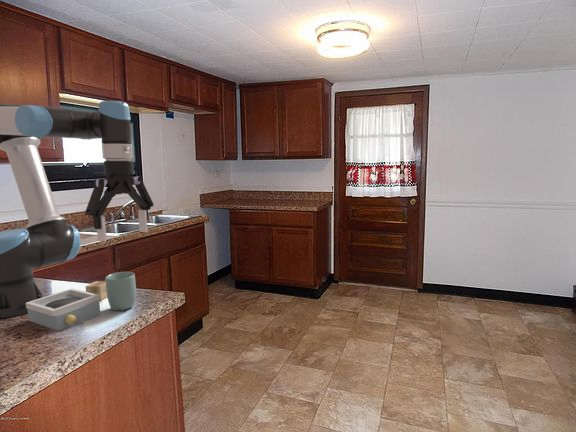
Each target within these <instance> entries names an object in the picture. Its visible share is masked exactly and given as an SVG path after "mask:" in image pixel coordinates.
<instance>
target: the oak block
mask: <svg viewBox="0 0 576 432" xmlns="http://www.w3.org/2000/svg"><path fill="white" fill-rule="evenodd" d="M85 292H89V293H93V294H98V295H99V299H100V300H98V301H102V300H104V299H106V298H107V291H106V280H104V281H101V280H96V281H94V282H91V283H89V284H87V285H85ZM107 299H108V298H107ZM107 299H106V300H107ZM104 301H105V300H104ZM102 302H103V301H102Z"/></svg>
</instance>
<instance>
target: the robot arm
mask: <svg viewBox="0 0 576 432" xmlns="http://www.w3.org/2000/svg"><path fill="white" fill-rule="evenodd" d="M130 113H131V112H130V106H129V104H128V103H127V102H124V101H120V100H102V101H100V102H99V103H98V109H97V110H92V111H91V110H80V109H70V108H59V107H51V106H41V105H36V104H30V105H29V104H24V105H21V104H17V103H16V104H14V103H13V104H11V103H0V150H1V151H2V152H3V151H4V152H5V153H6V155H7V158H8V161H9V164H10V168H11V170H12V173H13V176H14V179H15V183H16V185H17V189H18V192H19V196H20V198H21V201H22V205H23V207H24V211H25V213H26V217H27V220H28V224H27V226H26V227H25V228H14V229H7V230H2V231H0V319H5V318H12V317H17V316H20V315H24V314H28V309H27V308H26V303H27V302H30V301H33V300H36V299H40V298H43V297H44V295H43V292H41V289H40V288H39V286H38V285H37V283H36V281H35V277H34V270H35V269H40V268H44V267H47V266H52V265H55V264H62V263H64V262H66V261H70V260H72V259H74V258H75V257H76V256H77V255H78V254H79V252H80V249H81V243H82V240H81V235H80V231H79V230H78V229H77V228H76V226H74V224H73V225H72V224H68V222H67V218H65V217H63V216H61V215H60V213H59V211H58V207H57V204H56V202H55V201H56V200H55V198H54V195H53V192H52V189H51V186H50V184H49V180H48V178H47V174H46V171H45V167H44V165H43V162H42V159H41V156H40V153H39V148H38V147H39V146H40V144H41V140H42V138H64V139H66V138H67V139H81V140H92V139H93V140H94V139H101V151H102V152H101V153H102V159H103V160H105V161H103V173H104V175H105V178H94V180H93V182H94V184H93V185H94V186H93V190H92V193H91V195H90V198H89V201H88V203H87V206H86V208H85V212H84V214H85V216H89V217H92V219H93V220H92V221H93V228H94V229H95V230H96V235H97V236H96V237H97V241H100V242H106V241H107V239H108V238H107V229H106V216H102V215H103V214H104V213H105V211H106V209H107V208H108V206H109V204H110V203H111V202H112V200H113V198H114V197H116V195H122V194H125V195H126V194H127V195H128V196H129V197H130V198H131V200H133V202H134V203H135V204H136V206H138V208H139V209H138V210H137V215H138V229H139V232H142V233H148V231H149V230H148V221H149V211H150V210H151V208H153V207H154V206H155V205H154V202H153V200H152V197H151V196H150V194H149V191H148V189H147V188H146V186H145V183H144V178H143V176H138V175H137V176H133V175H134V173H135V171H134V161H133V160H132V159H133V157H134V156H133V145H132V143H133V142H132V125H131V124H132V123H131V120H132V117H131V114H130ZM133 185H134V186H135V187H134V186H133ZM105 187H106V189H105ZM104 189H105V190H104Z"/></svg>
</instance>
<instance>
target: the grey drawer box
mask: <svg viewBox="0 0 576 432" xmlns="http://www.w3.org/2000/svg"><path fill="white" fill-rule="evenodd" d="M98 300H100V299H99V295H98V294H93V293H89V292H86V290H85V291H84V290H81V289H76V288H68V289H65V290H62V291H59V292H56V293H52V294H50V295H46V296H43V298H40V299H36V300H33V301H30V302H27V303H26V308H27V309H28V313H27V316H28V321H29V322H31V323H34V324H37V325H40V326H43V327H46V328H50V329H52V330H56V331H62V330H64V329H67V328H69V327H72V326H74V325H77V324H79V323H81V321H82V322H84V321H86V319H87V320H89V319H92V318H94V317H96V315H97V316H99V315H101V307H100V306H101V305H100V302H99V301H98ZM98 314H99V315H98ZM93 316H94V317H93ZM91 317H92V318H91Z"/></svg>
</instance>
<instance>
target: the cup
mask: <svg viewBox="0 0 576 432" xmlns="http://www.w3.org/2000/svg"><path fill="white" fill-rule="evenodd" d="M104 281H106V291H107V302H108V305H109V306H110V308H111V309H112V310H115V311H125V310H129V309H130V308H132V307H133V306H134V305H135V303H136V299H137V286H136V285H137V284H136V275H135V273H134V272H132V271H120V272H119V271H117V272H114V273H110V274H108V275H106V277H105V280H104Z"/></svg>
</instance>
